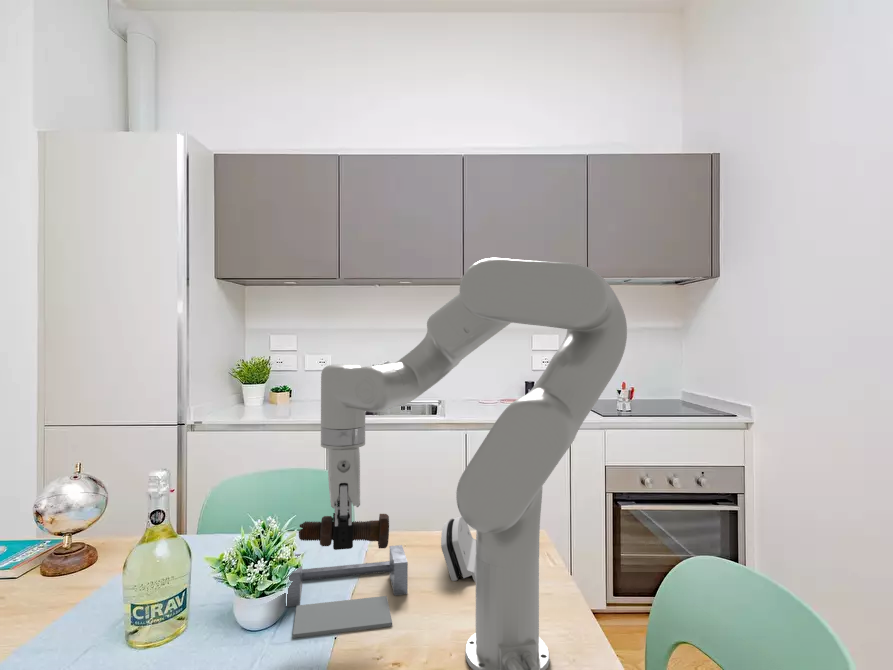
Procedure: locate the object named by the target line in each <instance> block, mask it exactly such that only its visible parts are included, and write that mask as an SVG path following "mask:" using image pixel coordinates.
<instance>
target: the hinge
mask: <svg viewBox="0 0 893 670" xmlns="http://www.w3.org/2000/svg"><path fill="white" fill-rule="evenodd" d="M441 530H442V531H441V537H440V541H441V542H440V544H441V545H440V547H441V550H442V551H441V552H442V554H443V558H444V561H445V564H446V567H447V571H448V574H449V577H450V580H451V582H455V581H456V582H457V581H458V579H459V578H460V577H461V578H462V577H463V579H465V578H469V577H471V576H472V579H473V581H474V583H476V538H474V537H473V535H472V533H471V530H470V526H469V525H468V524H467V523H466V522H465V520H464V519H463V518H462V516H461V515H460V516H457V517H455V518H450V519H449V520H447V521H445V522H444V524H443V525H442V529H441Z"/></svg>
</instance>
